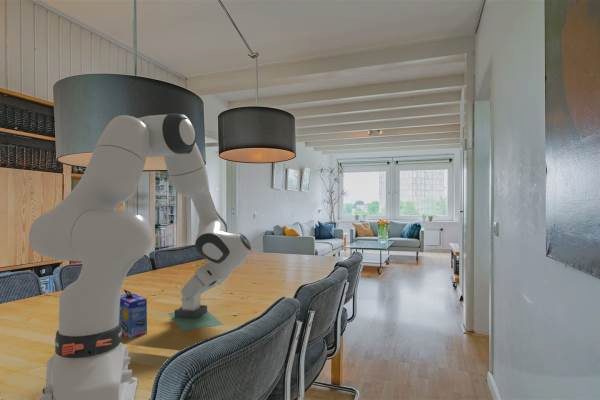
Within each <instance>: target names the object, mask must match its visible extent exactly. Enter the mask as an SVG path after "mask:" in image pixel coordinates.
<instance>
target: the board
mask: <svg viewBox="0 0 600 400" xmlns="http://www.w3.org/2000/svg"><path fill="white" fill-rule="evenodd" d="M168 315H169V316H170V318H171V319H172V320H173V321H174V323H175V325H177V327H178V328H179V330H180V331H181V332H187V331H193V330H198V329H199V330H200V329H205V328H206V329H207V328H211V327H217V326H224V324H223V323H222V322H221V321H220V320H219V319H218V318H217V317H215V316H214V315H213V314H212V313H211V312H210V311H208V306H207V305H206V304H205V305H204V304H200V308H199V309H197V310H195V311H189V310H182V306H181V307H178V308H176V309H174V312H168Z"/></svg>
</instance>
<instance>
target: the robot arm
mask: <svg viewBox="0 0 600 400" xmlns="http://www.w3.org/2000/svg"><path fill="white" fill-rule="evenodd" d="M196 141H197V131H196V127H195V126H194V123H193V121H192V120H191V119H190V118H189V117H188V116H187V115H185V114H182V113H174V112H173V113H171V112H170V113H168V114H155V115H144V116H142V117H138V118H137V117H135V116H131V115H127V114H126V115H125V114H124V115H123V114H122V115H118V116H116V117H113V118H112V119H111V120H110V121H109V122H108V123H107V126H106V127H105V128H104V130H103V131H102V133H101V135H100V136H99V138H98V140H97V142H96V144H95V146H94V149H93V152H92V154H91V157H90V159H89V161H88V163H87V165H86V168H85V170H84V172H83V174H82V175H81V178H80V179H79V181H78V182H77V184H76V185H75V186H74V187H73V189H72V190H71V191H70V192H69V193H68V194H67V196H65V198H63V199H62V200H61V201H60V203H58V204H57V205H56V206H54V207H53V208H52V209H50V210H48V211H47V212H45V213H42V214H41V215H39V216H38V217H37V218H36V219H35V220H34V221H33V223H31V226H30V228H29V232H28V242H29V244H30V247H31V249H32V250H33V251H34V252H35V253H36V254H38V255H41V256H44V257H46V258H50V259H53V260H57V261H66V262H67V261H68V262H69V261H70V262H81V263H82V265H81V271H80V274H79V275H78V278H77V279H76V280H75V281H73V282H72V283H70V284H68V285H66V287H65V288H64V289H63V290H62V291H61V293H60V295H59V298H58V330H57V331H56V333H55V338H54V345H55V346H54V354H53V355H52V356H51V357H50V358H48V360H46V371H45V372H46V373H45V375H46V377H45V386H44V387H43V389H42V394H43V395H41V396H39V397H38V398H36V399H35V400H134V396H135V397H136V395H135V390H136V391H137V389H136V386H137V387H138V384H137V382H138V381H139V380H138V377H136V376H133V369H128V368H129V367H128V366H129V365H130V364H131V357H130V356H129V357H128V353H129V352H128V351H129V347H128V346H127V345H126V344H124V343H123V342H122V328H121V322H120V321H119V313H120V297H121V295H122V290H123V285H124V282H125V280H126V279H125V278H126V276H127V274H128V273H129V271H130V269H131V268H132V267H133V265H134V264H135V263H137V262H138V261H139V260H140V259H142V258H143V257H144V256H145V255H146V254H147V252H148V251H149V249H150V247H151V245H152V242H153V241H152V240H153V231H152V227H151V223H149V220H147V218H146V217H145V216H143V215H141V214H138V213H134V212H129V211H125V210H121V209H120V210H116V208H117V207H119V206H120V205H122V204H123V203H125V202H127V201H129V200H130V199H131V198H132V197H134V195H136V193H137V189H138V187H139V183H140V181H141V177H142V174H143V171H144V168H145V164H146V161H147V158H153V157H154V158H155V157H157V158H158V157H159V158H161V157H163V159H164V164H165V167H166V170H167V174H168V177H169V179H170V182H171V184H172V186H173V188H174V189H175V190H176V193H177V194H179V195H181V196H183V197H187V198H190V199H191V200H192V203H193V204H194V208H195V210H196V213H197V216H198V219H199V224H198V231H197V234H196V239H195V242H194V245H195V246H194V248H195V251H196V252H197V254H198V255H199V256H200V257H202V258H204V259H206V260H208V261H207V262H206V263H205V264H203V265H202V266H200V267H199V268H198V269H196V271H194V275H193V276H192V277H190V279H189V280H188V281H187V282H186V283H185V285H184V286H183V287H181V290H180V294H182V295H183V296H184V297H183V298H182V297H181V303H182V302H183V303H185V302H187V301H188V300H189V298H192V297H194V296H196V295H198V294H200V293H201V294H200V295H202V294H203V293H205V292H207V291H208V290H211V289H212V288H215V287H216V286H217V285H218V286H221V285H222V284H223V283H224V282H225V281H226V280H227V279H228V278H229V277H230V276H231V275H232V273H233V271H234V270H236V269H237V268H239V267H240V266H241V265H242V264H243V263H244V262H245V260H246V259H247V258H248V257H249V255H250V254H251V251H252V245H251V242H250V241H249V240H248V238H247V237H246V236H245V235H244V234H242V233H241V232H238V233H232V232H231V233H230V232H228V225H227V223H226V221H225V220H224V219H223V218H222V216H221V215H220V214H219V213H218V211H217V208H216V206H215V204H214V200H213V198H212V196H211V195H212V194H211V192H210V186H209V177H208V171H207V167H206V165H205V162H204V159H203V156H202V153H201V151H200V149H199V145H197V142H196ZM130 383H132V384H130ZM138 383H139V382H138Z"/></svg>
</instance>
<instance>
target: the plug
mask: <svg viewBox="0 0 600 400" xmlns="http://www.w3.org/2000/svg"><path fill="white" fill-rule="evenodd" d="M201 295H202V294H201V293H200V294H198V295H196V296H194V297H192V298H189V300H188V301H187V302H185V303H183V302H182V301H181V307H182V310H189V311H195V310H197V309H199V308H200V305H201ZM183 297H184V296H183V295H182V296H181V299H182V298H183Z"/></svg>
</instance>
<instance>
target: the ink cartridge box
mask: <svg viewBox="0 0 600 400" xmlns="http://www.w3.org/2000/svg"><path fill="white" fill-rule="evenodd" d="M123 291H124V293H125V294H121V297H120V313H119V321H120V322H121V328H122V334H121V336H122V335H123V336H124V337H125V338H129V339H134V338H137V337H141V336H144V335H147V334H148V310H147V309H148V303H147V301H148V300H147V298H146V297H144V296H140V295H138V294H136V293H133V292H132V293H131V292H130V290H127V289H123Z"/></svg>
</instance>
